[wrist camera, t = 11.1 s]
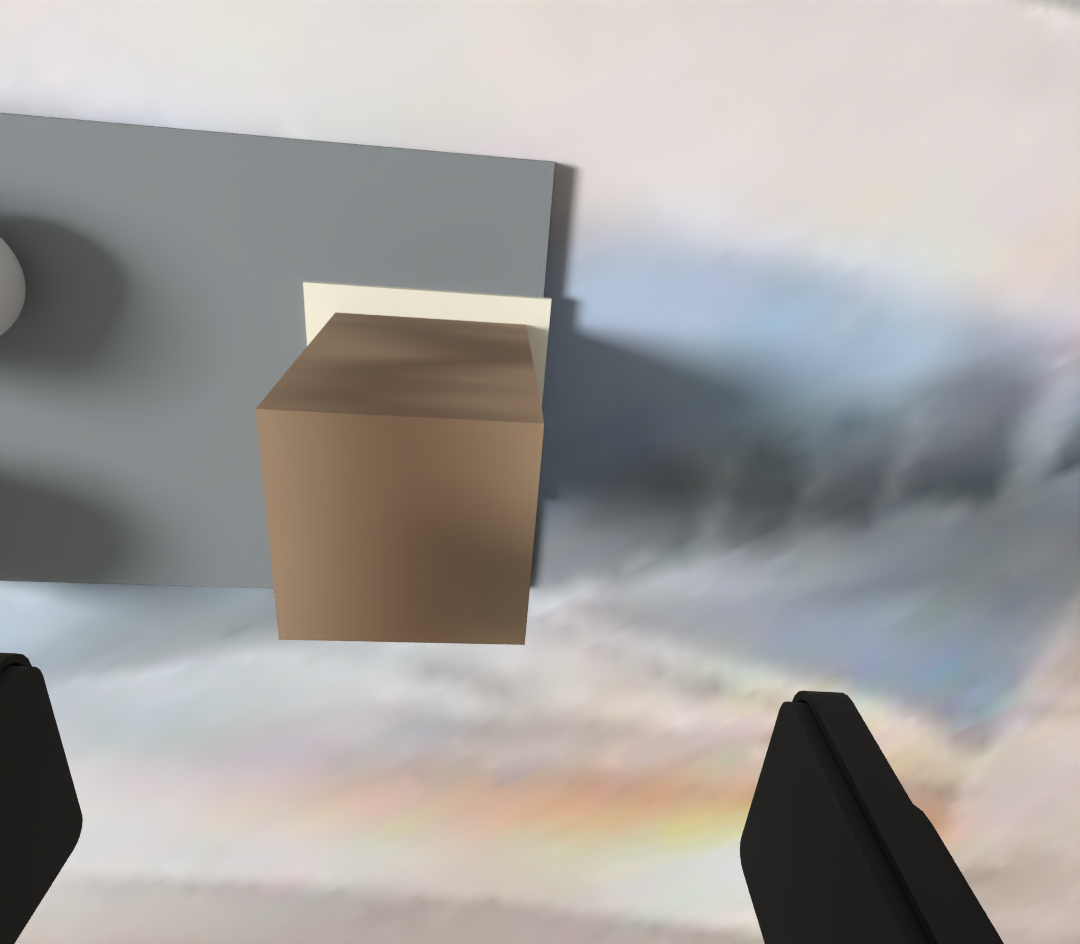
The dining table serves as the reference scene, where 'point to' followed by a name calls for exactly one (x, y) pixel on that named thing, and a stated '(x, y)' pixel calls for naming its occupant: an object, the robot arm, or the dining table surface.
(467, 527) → the walnut block
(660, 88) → the dining table surface
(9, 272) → the grey ball
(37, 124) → the mat
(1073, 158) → the dining table surface
